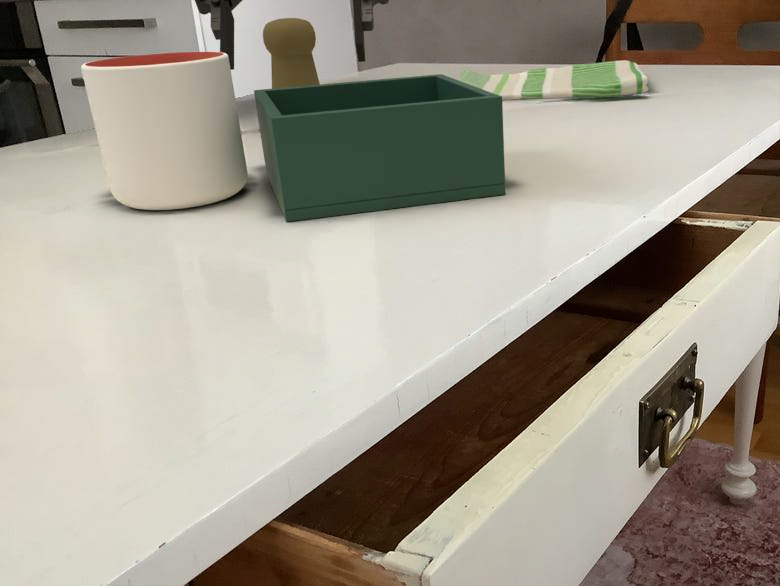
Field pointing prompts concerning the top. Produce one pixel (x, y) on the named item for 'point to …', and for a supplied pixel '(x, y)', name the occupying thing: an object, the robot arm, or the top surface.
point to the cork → (291, 52)
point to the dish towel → (564, 81)
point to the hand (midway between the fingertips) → (294, 57)
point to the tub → (380, 144)
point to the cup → (167, 128)
